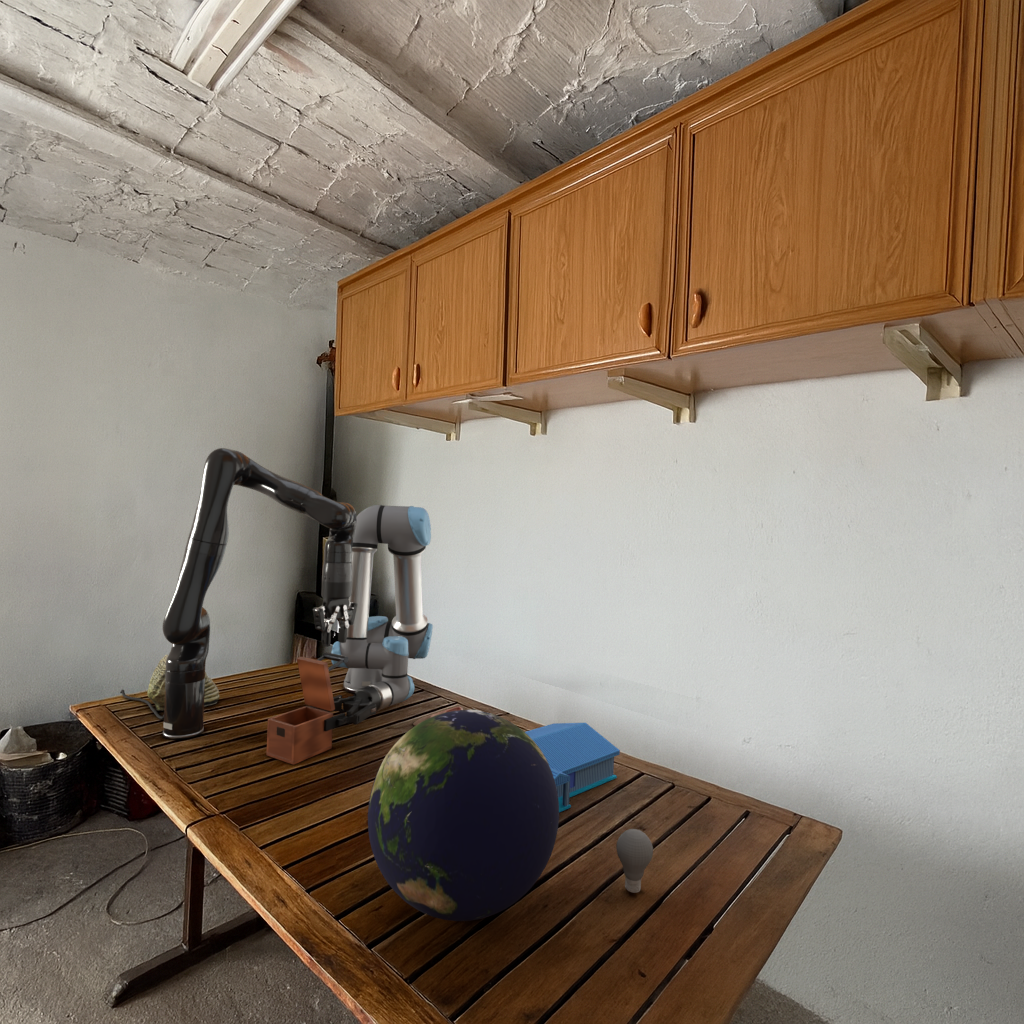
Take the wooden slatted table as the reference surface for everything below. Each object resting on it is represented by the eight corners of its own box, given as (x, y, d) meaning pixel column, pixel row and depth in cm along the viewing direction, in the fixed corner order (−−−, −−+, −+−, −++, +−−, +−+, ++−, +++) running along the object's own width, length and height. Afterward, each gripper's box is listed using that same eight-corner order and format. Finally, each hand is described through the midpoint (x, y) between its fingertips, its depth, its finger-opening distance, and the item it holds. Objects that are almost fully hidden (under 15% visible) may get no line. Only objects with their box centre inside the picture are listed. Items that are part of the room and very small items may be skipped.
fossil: (144, 707, 182) (145, 655, 182) (212, 696, 194) (213, 647, 194) (151, 716, 175) (153, 662, 175) (221, 703, 188) (223, 653, 188)
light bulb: (610, 879, 108) (613, 822, 108) (644, 879, 109) (647, 822, 109) (619, 902, 102) (622, 840, 102) (655, 901, 103) (658, 840, 103)
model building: (501, 837, 120) (504, 785, 120) (427, 790, 139) (429, 744, 138) (628, 782, 147) (630, 739, 147) (552, 748, 165) (553, 710, 165)
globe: (322, 932, 92) (330, 728, 92) (425, 835, 120) (432, 678, 119) (512, 1001, 81) (522, 769, 81) (577, 877, 109) (585, 703, 108)
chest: (293, 764, 149) (294, 727, 149) (266, 755, 153) (267, 718, 153) (331, 748, 159) (333, 713, 159) (305, 739, 164) (306, 705, 164)
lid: (323, 664, 156) (349, 648, 163) (296, 658, 160) (323, 643, 168) (331, 711, 159) (356, 693, 166) (305, 704, 163) (330, 687, 171)
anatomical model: (409, 713, 175) (423, 701, 186) (408, 727, 175) (423, 714, 186) (455, 719, 172) (467, 706, 184) (455, 733, 172) (466, 719, 184)
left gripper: (327, 583, 156) (324, 651, 157) (367, 578, 169) (364, 641, 169) (305, 580, 160) (302, 646, 160) (346, 575, 173) (343, 637, 173)
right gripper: (401, 720, 173) (342, 746, 154) (342, 704, 184) (279, 726, 164) (402, 693, 173) (343, 715, 153) (343, 678, 184) (280, 698, 164)
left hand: (334, 643), depth 165 cm, fingers open, 5 cm apart
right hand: (310, 721), depth 159 cm, fingers closed on chest, 9 cm apart
